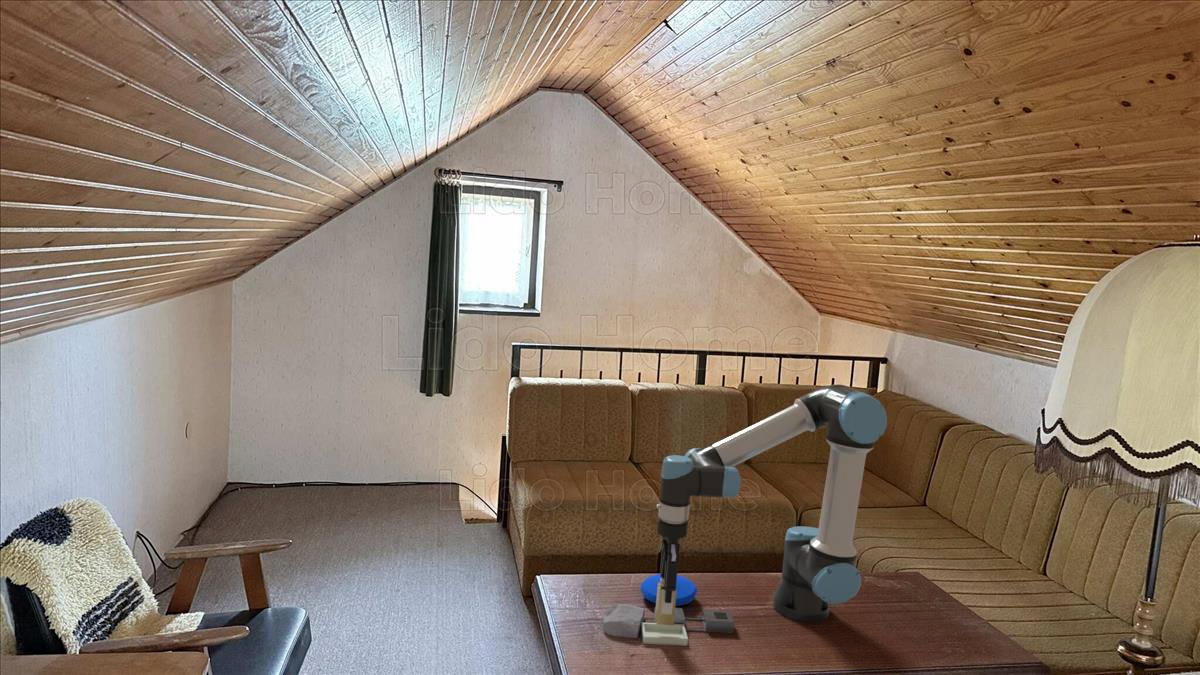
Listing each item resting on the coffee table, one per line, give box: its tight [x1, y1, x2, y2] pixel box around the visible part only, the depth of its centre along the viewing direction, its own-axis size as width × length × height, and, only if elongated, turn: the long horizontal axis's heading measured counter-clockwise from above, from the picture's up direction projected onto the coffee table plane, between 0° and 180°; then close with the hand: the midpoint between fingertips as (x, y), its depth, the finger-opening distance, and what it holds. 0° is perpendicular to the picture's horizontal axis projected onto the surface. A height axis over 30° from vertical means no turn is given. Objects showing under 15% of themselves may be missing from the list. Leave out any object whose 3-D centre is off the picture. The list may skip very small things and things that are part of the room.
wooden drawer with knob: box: [654, 582, 677, 625], centre depth 181 cm, size 4×4×9 cm
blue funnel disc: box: [640, 573, 698, 607], centre depth 202 cm, size 16×16×7 cm
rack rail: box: [653, 606, 735, 634], centre depth 189 cm, size 20×6×3 cm, turn 92°
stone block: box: [602, 603, 646, 639], centre depth 186 cm, size 12×5×10 cm
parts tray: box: [640, 621, 689, 647], centre depth 182 cm, size 11×7×2 cm, turn 92°
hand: (665, 608), depth 181 cm, fingers closed on wooden drawer with knob, 4 cm apart
